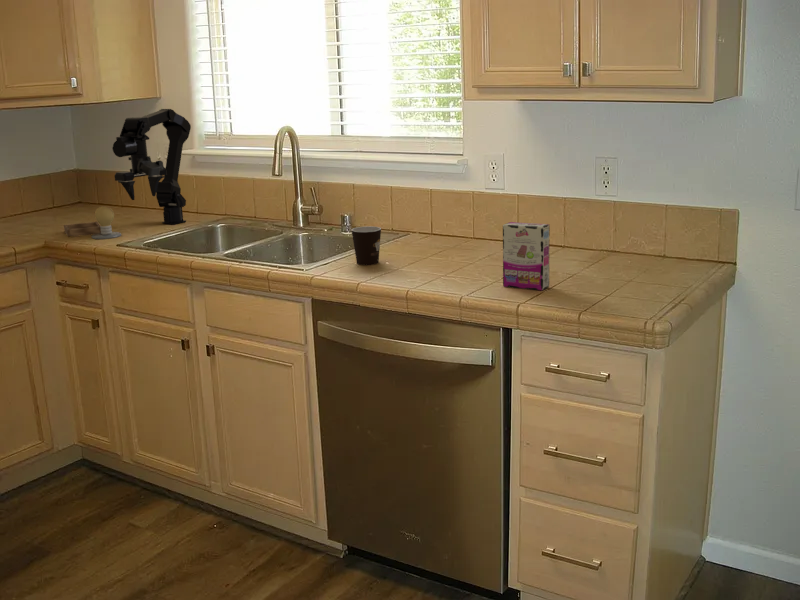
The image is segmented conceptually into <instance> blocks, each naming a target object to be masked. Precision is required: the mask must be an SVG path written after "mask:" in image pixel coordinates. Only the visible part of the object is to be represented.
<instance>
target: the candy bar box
mask: <svg viewBox="0 0 800 600" xmlns="http://www.w3.org/2000/svg"><path fill="white" fill-rule="evenodd" d="M550 230H551V229H550V224H549V223H547V224H546V223H531V222H530V223H529V222H518V221H516V222H515V221H514V222H513V221H510V222H507V223H505V224H502V286H503V287H505V288H512V287H513V288H514V289H515V288H516V289H524V290H533V291H544V290H546V289H548V288H549V287H550V232H551V231H550ZM513 288H512V289H513Z"/></svg>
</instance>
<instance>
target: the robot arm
mask: <svg viewBox="0 0 800 600" xmlns="http://www.w3.org/2000/svg"><path fill="white" fill-rule="evenodd" d="M160 124H162V127H163V128H165V130H166V136H167V139H168V141H169V142H168V148H167V149H168V150H167V156H166V163H165V167H164V161H162V160H156V161H152V160H151V159H152V158H151V156H150V155H148V149H147V141H148V140H150V136H148V135H147V133H148V132H150V130H151V128H152V127H155V126H158V125H160ZM191 128H192V127H191V123H190V122H189V121H188V119H186V118H185V116H182V115H181V114H179V113H177V112H176V111H174V110H173V109H172V108H161V109H159V110H157V111H154V112H152V113H148V114H147V115H144V116H136V117H126V118H125V119H124V123H123V125H122V128H121V131H120V133H119V134H120V135H119V136H116V137H115V139H116V140H115V141H114V142H113V144H112V147H111V148H112V152H113V154H114V155H115V156H116V157H118V158H125V157H127V158H128V161H130V163H131V168H130V169H129V171H127V170H126V171H117V172H115V174H114V181H117V182H118V183H119V184H121V185H122V187H123V188H124V190H125V191H126V193H127V195H128V196H129V198H130V199H131V200H132V201H135V189H134V188H135V187H134V185H135V182H136V180H134V179H135V178H139V177H147V180H148V185H149V188H150V193H151V195H152V197H155V198H156V201H157V204H158V206H159V208H163V212H162V215H163V221H161V224H165V225H178V224H183V223H186V222H187V220H185V219H184V215H183V214H184V213H183V208H184V207H186V203H187V200H186V198H185V197H184V196H183V195H182V194H181V186H180V183H179V181H178V178H179V174H180V173H179V172H180V166H181V162H182V161H181V160H182V155H183V147H184V144H185V142H186V141H187V140H188V138H189V136H190V133H191Z"/></svg>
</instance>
